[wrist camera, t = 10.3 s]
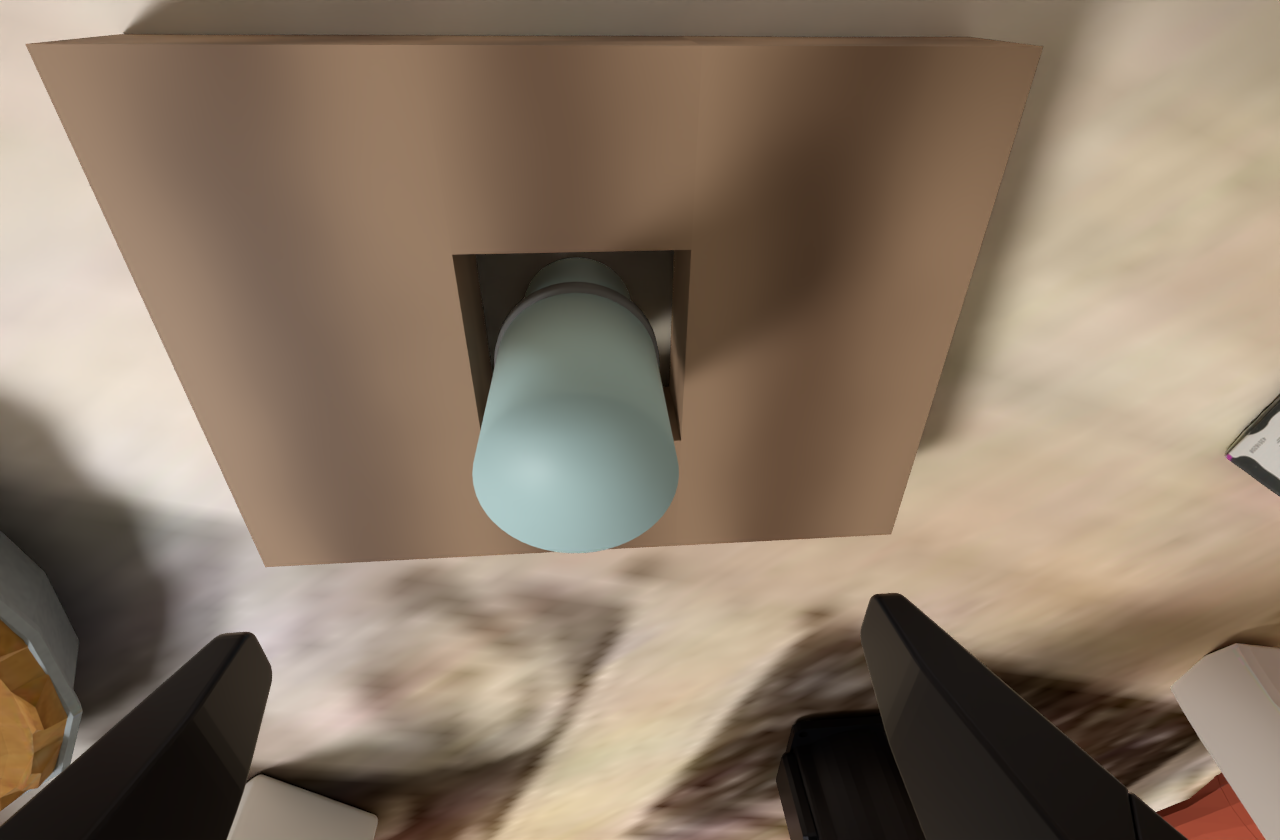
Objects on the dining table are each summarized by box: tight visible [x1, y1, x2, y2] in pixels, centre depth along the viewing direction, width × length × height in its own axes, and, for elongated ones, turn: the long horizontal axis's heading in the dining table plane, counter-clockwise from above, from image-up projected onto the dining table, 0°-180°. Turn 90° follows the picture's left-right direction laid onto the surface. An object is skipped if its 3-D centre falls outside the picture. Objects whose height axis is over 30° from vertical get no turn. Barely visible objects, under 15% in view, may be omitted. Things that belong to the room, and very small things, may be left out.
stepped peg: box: [472, 257, 679, 553], centre depth 16 cm, size 4×4×8 cm
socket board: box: [26, 34, 1043, 567], centre depth 18 cm, size 20×14×3 cm
